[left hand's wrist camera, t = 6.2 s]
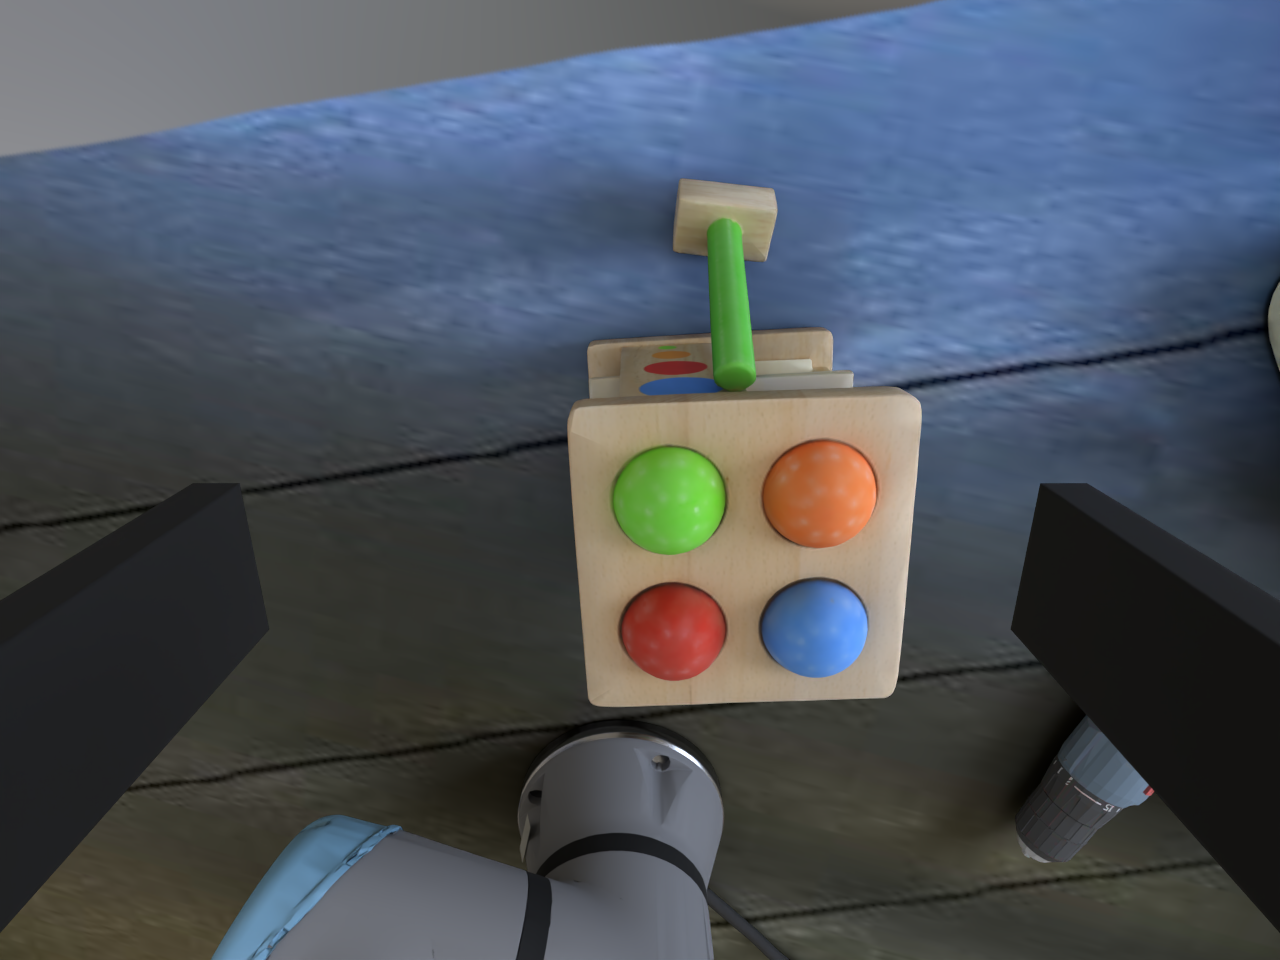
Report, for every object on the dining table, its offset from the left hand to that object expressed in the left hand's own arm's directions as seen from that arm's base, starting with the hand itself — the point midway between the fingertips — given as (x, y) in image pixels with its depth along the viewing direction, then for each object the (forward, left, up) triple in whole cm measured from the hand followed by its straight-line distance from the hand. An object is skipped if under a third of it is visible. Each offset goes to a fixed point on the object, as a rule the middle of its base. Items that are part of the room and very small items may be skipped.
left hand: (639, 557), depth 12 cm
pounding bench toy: (-6, -2, -33) cm, 33 cm away
